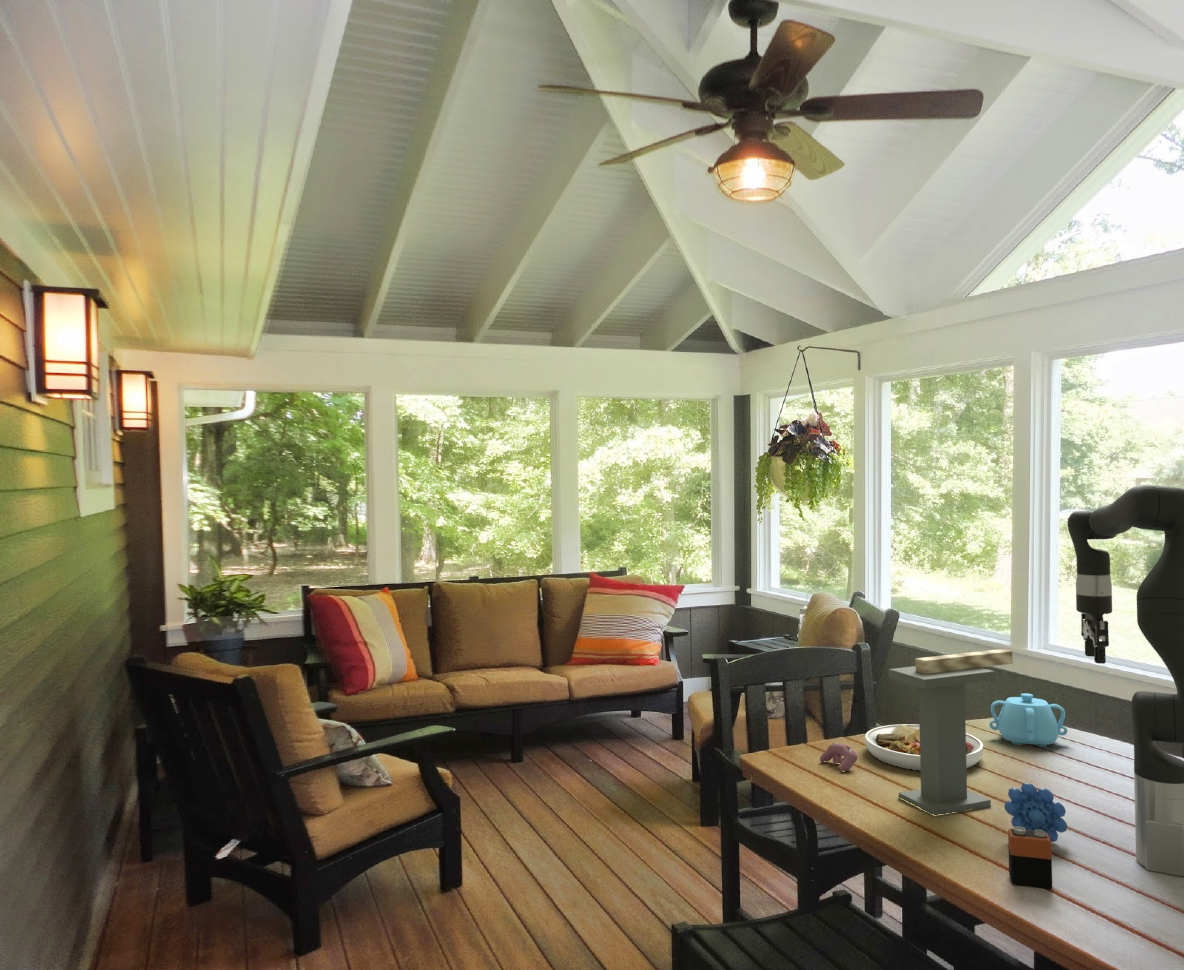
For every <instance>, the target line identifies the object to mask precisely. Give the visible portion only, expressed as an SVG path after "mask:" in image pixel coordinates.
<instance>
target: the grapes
mask: <svg viewBox="0 0 1184 970" xmlns="http://www.w3.org/2000/svg"><path fill="white" fill-rule="evenodd" d="M1007 795H1008V797H1009V799H1010V800H1008V801H1005V802H1004V805H1003V807H1004V811H1006V813H1007V814H1008V815H1010V816H1011V817H1012V818H1011V820H1010V821H1011V825H1012V827H1013V828H1014V827H1017V826H1019V827H1023V828H1025V830H1029V831H1035V830H1043V831H1044V832H1046V833H1047V834H1048V836H1049V838H1050V840H1051V843H1055V842H1057V841H1058V839H1059V834H1058V833H1064V832H1067V830H1068V824H1067V822H1066V821H1065V819H1064V818H1063V817H1065V816H1066V812H1067V811H1066V808H1065V806H1064V805H1063V804H1062V803H1061V802H1059V801H1054V800H1055V799H1054V798H1055V797H1054V794H1053V792H1052V791H1051V790H1050V789H1047V788H1044V787H1042V788H1039V789H1038V790H1037V788H1036V786H1035V785H1033V784H1032V783H1031V782H1024V783H1022V784H1021V787H1020V788H1017V787H1011V788H1009V789H1008V792H1007Z"/></svg>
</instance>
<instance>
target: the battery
mask: <svg viewBox="0 0 1184 970" xmlns="http://www.w3.org/2000/svg"><path fill="white" fill-rule="evenodd" d="M1007 839H1008V840H1007V841H1008V844H1007V845H1008V875H1009V878H1010V882H1011V884H1012V885H1014V886H1018V887H1019V886H1020V887H1027V888H1028V887H1029V888H1036V889H1043V890H1044V889H1045V890H1052V889H1053V860H1052V858H1053V857H1052V856H1053V855H1052V853H1053V852H1052V851H1053V850H1052V849H1053V848H1052V842H1051V840H1050V838H1049V836H1048V834H1047V833H1046V832H1044V831H1043V830H1035V831H1029V830H1025V828H1023V827H1019V826H1017V827H1014V826H1013V828H1009V829H1008V830H1007Z"/></svg>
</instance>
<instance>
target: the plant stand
mask: <svg viewBox="0 0 1184 970" xmlns="http://www.w3.org/2000/svg"><path fill="white" fill-rule="evenodd" d="M995 673H996V671H994V670H992V669H988V668H985V667H979V668H971V669H962V670H954V671H945V672H937V673H928V674H923V673H920V672H916V665H913V666H905V667H897V668H889V669H888V678H890V679H892V680H896V681H898V682H902V683H905V684H909V685H912V686H915V687H918V712H919V714H918V715H919V716H918V717H919V719H918V720H919V722H918V723H919V724H918V725H920V769H921V771H920V788H918V789H912V790H907V791H900V792H898V798H899V797H900V798H902V799H904V800H906V801H908V802H909V803H912V804H914V805H915V806H918V807H920V808H921V809H923V810H925V811H927V812H929V813H931V814H934V815H938V814H946V813H952V812H959V813H962V812H961V811H964V812H966V811H965V810H969V809H975V810H980V809H985V808H989V807H990V808H991V807H992V806H991V805H992V803H991V799H989V798H987V797H985V796H982V795H981V794H978V793H976V792H973V791H971V790H969V789H968V787H967V786H968V782H967V781H968V779H967V778H968V775H967V771H968V770H967V768H966V733H967V732H966V731H967V730H966V697H965V696H966V695H965V693H966V692H965V690H966V689H965V684H973V683H979V682H988V681H994V680H996V679H995V678H996V674H995ZM969 811H970V810H969Z"/></svg>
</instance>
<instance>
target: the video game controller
mask: <svg viewBox="0 0 1184 970" xmlns="http://www.w3.org/2000/svg"><path fill="white" fill-rule="evenodd" d="M842 757H843V758H842ZM831 760H832V762H833V764H835V763H840V764H839V765H840V767H839V772H840V771H847V770H848V771H849V770H850V769H852V767H853V766H854V764H855V763H856V762H857V760H858V753H857V752H856V751H855V750H854V749H853V748H852V747H851V746H849V745H847V744H845V743H841V742H839V743H838V742H832V744H830V745H829V746H828V747H827V748H826V750H824V752H822V754H821V755H820V758H819V762H820V761H821V762H824V761H828V762H829V761H831ZM821 762H820V763H821ZM848 771H847V772H848Z"/></svg>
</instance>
